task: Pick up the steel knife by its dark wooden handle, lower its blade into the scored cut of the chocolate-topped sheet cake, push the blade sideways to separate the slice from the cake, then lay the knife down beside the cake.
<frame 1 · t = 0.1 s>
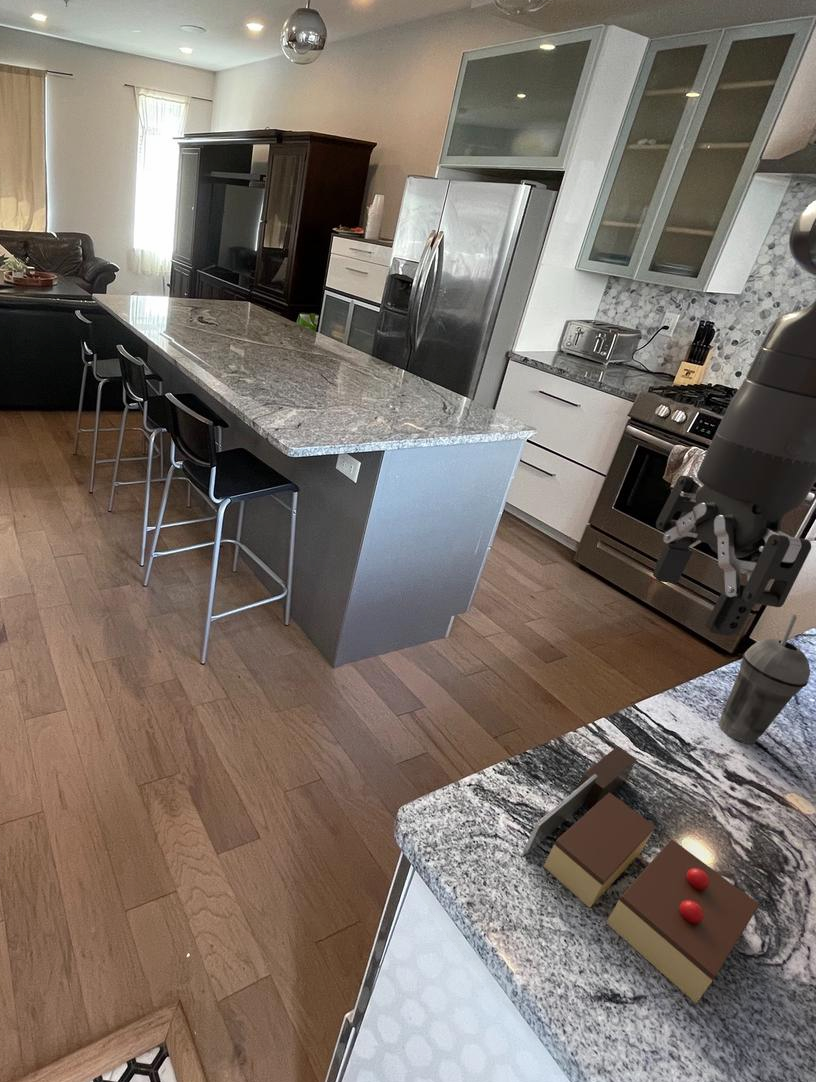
hand: (689, 604, 58), 31 cm above the counter, tool pointing down, fingers open, 8 cm apart
sheet cake: (674, 926, 62), on the counter
beverage cup: (736, 733, 91), on the counter
knife: (600, 787, 77), on the counter
cake slice: (593, 859, 68), on the counter
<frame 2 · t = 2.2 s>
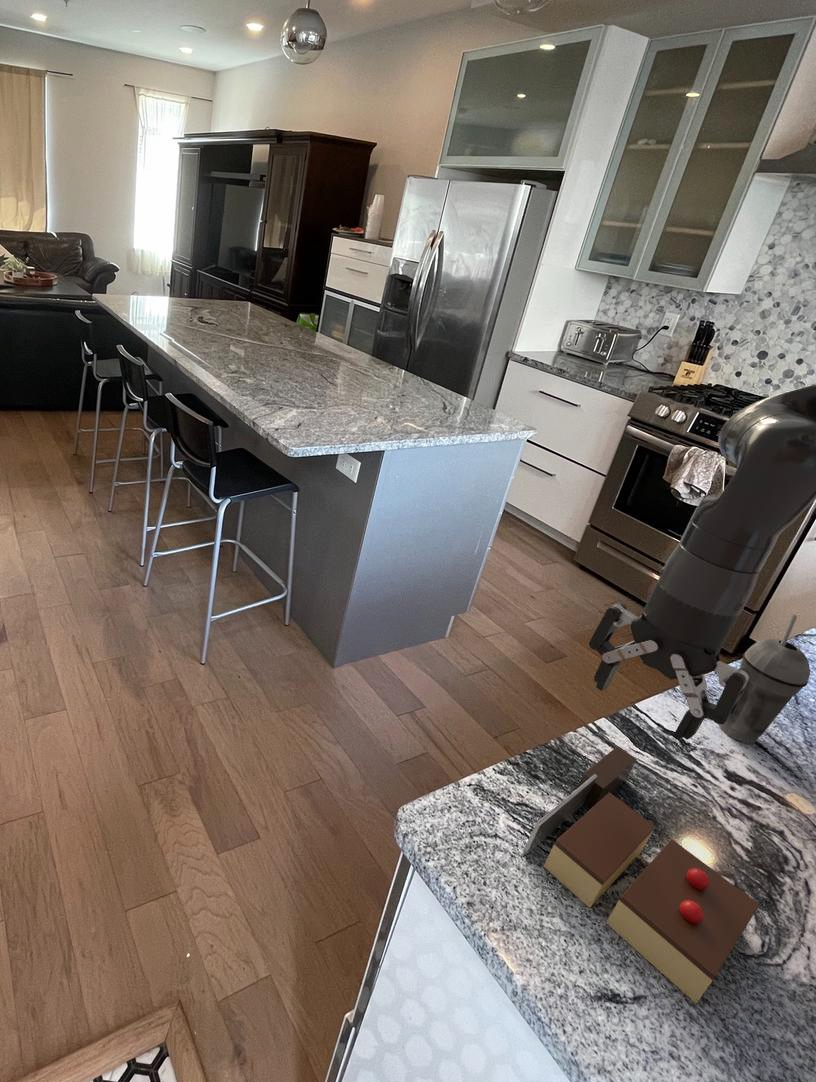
hand: (638, 710, 72), 12 cm above the counter, tool pointing down, fingers open, 8 cm apart
nothing on the counter moved.
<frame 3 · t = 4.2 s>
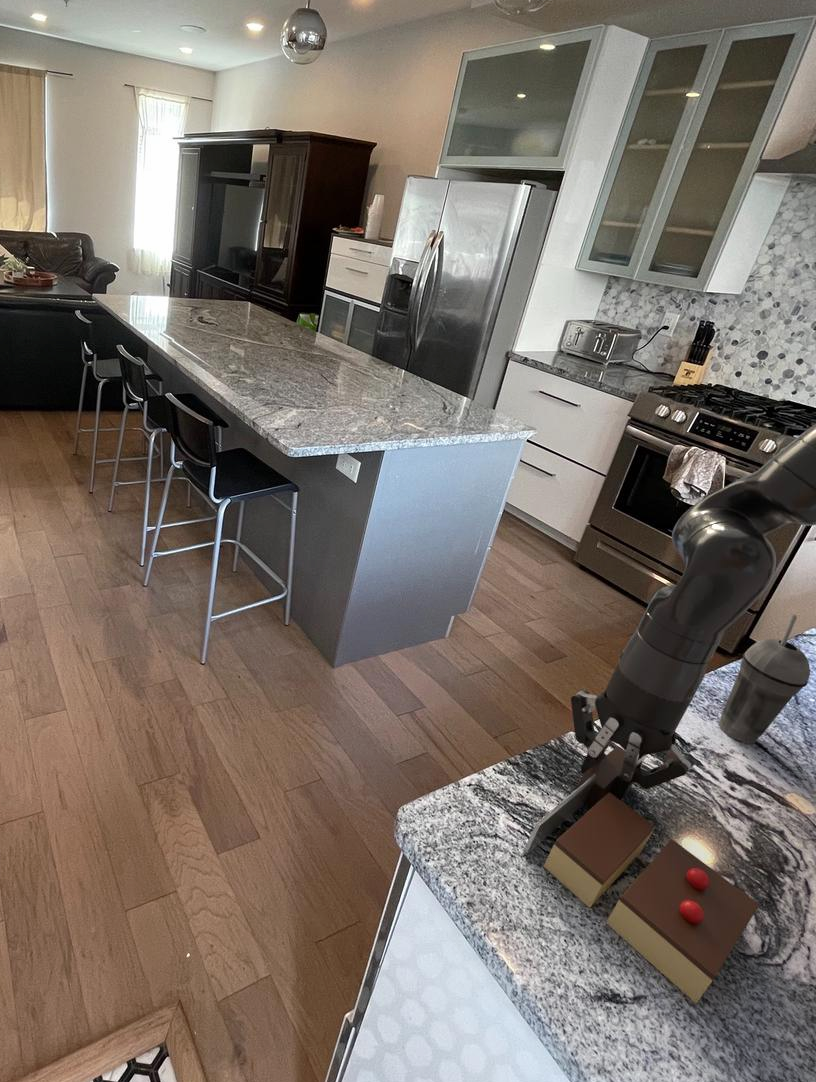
hand: (600, 786, 77), 0 cm above the counter, tool pointing down, fingers closed on knife, 2 cm apart
knife: (600, 787, 77), on the counter, touching gripper
everything else where it was.
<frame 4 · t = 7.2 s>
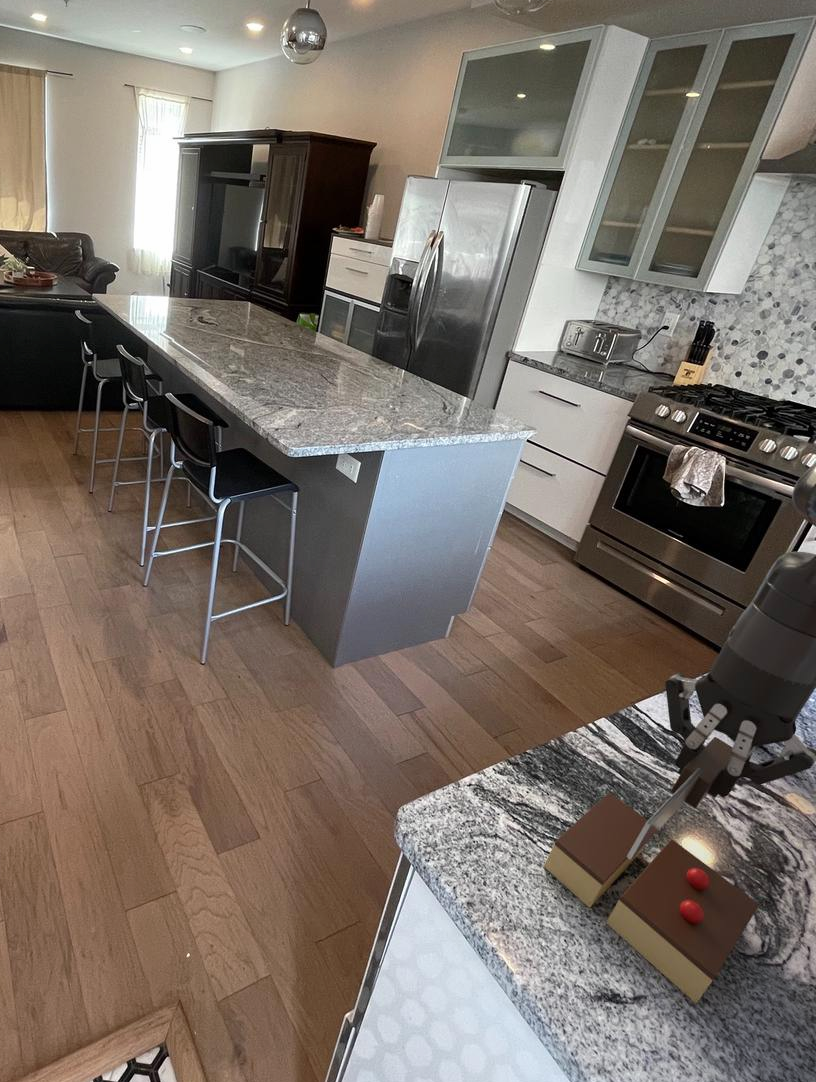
hand: (698, 781, 68), 9 cm above the counter, tool pointing down, fingers closed on knife, 2 cm apart
knife: (698, 782, 68), point 9 cm above the counter, touching gripper
everything else where it was.
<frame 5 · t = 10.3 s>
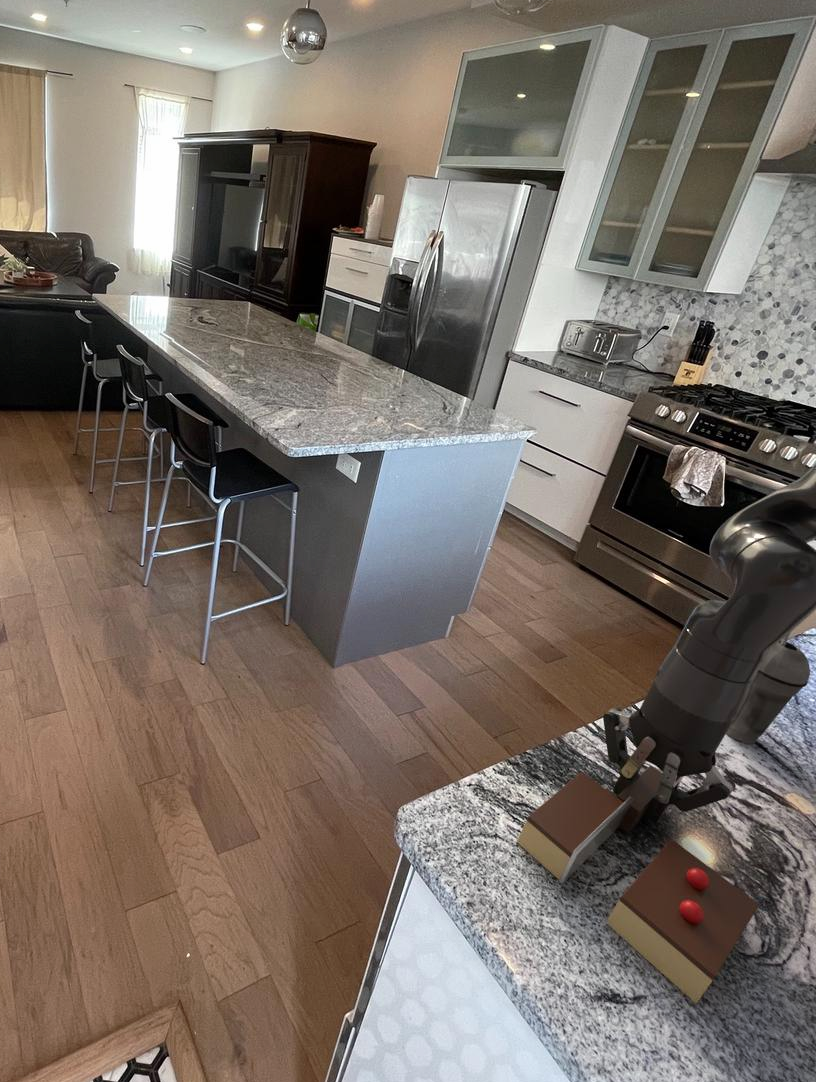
hand: (634, 807, 74), 1 cm above the counter, tool pointing down, fingers closed on knife, 2 cm apart
knife: (633, 808, 74), on the counter, touching cake slice, gripper
cake slice: (565, 835, 70), on the counter, touching knife
everything else where it was.
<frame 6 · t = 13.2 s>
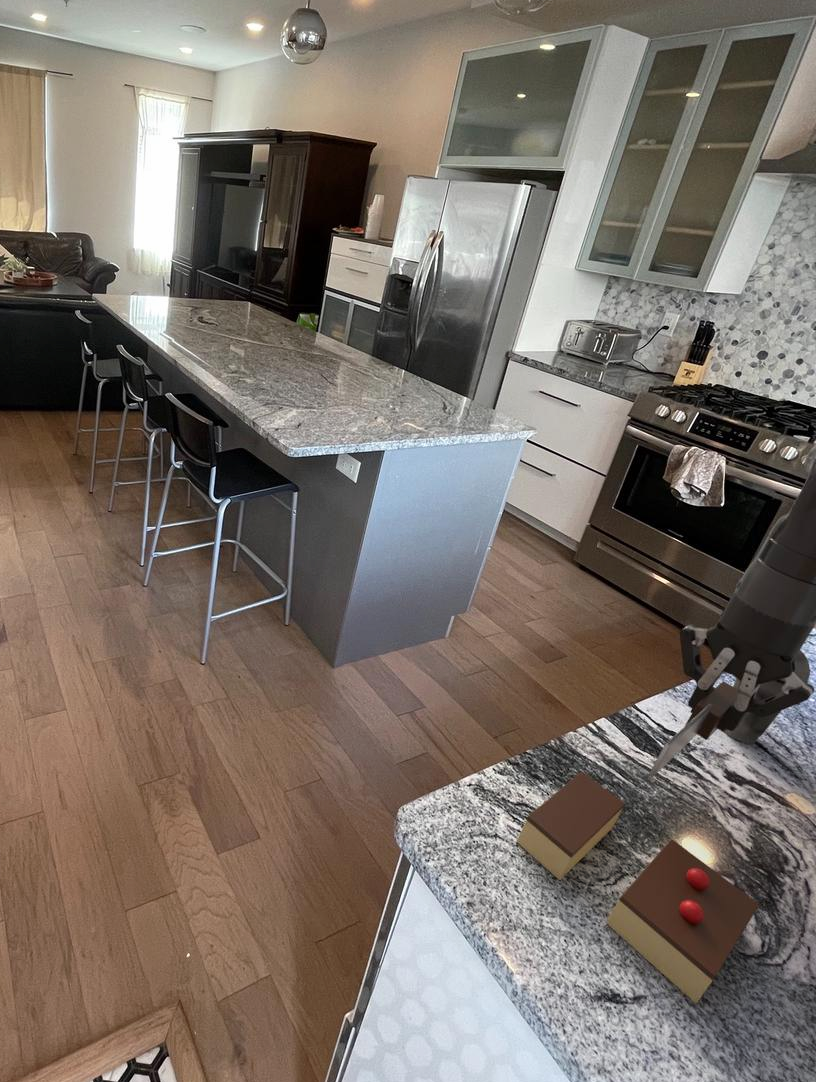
hand: (709, 719, 77), 9 cm above the counter, tool pointing down, fingers closed on knife, 2 cm apart
knife: (708, 720, 77), point 9 cm above the counter, touching gripper
cake slice: (565, 835, 70), on the counter
everything else where it was.
when the fingers open (0 cm above the counter, at t = 15.3 s): knife stays where it is, on the counter.
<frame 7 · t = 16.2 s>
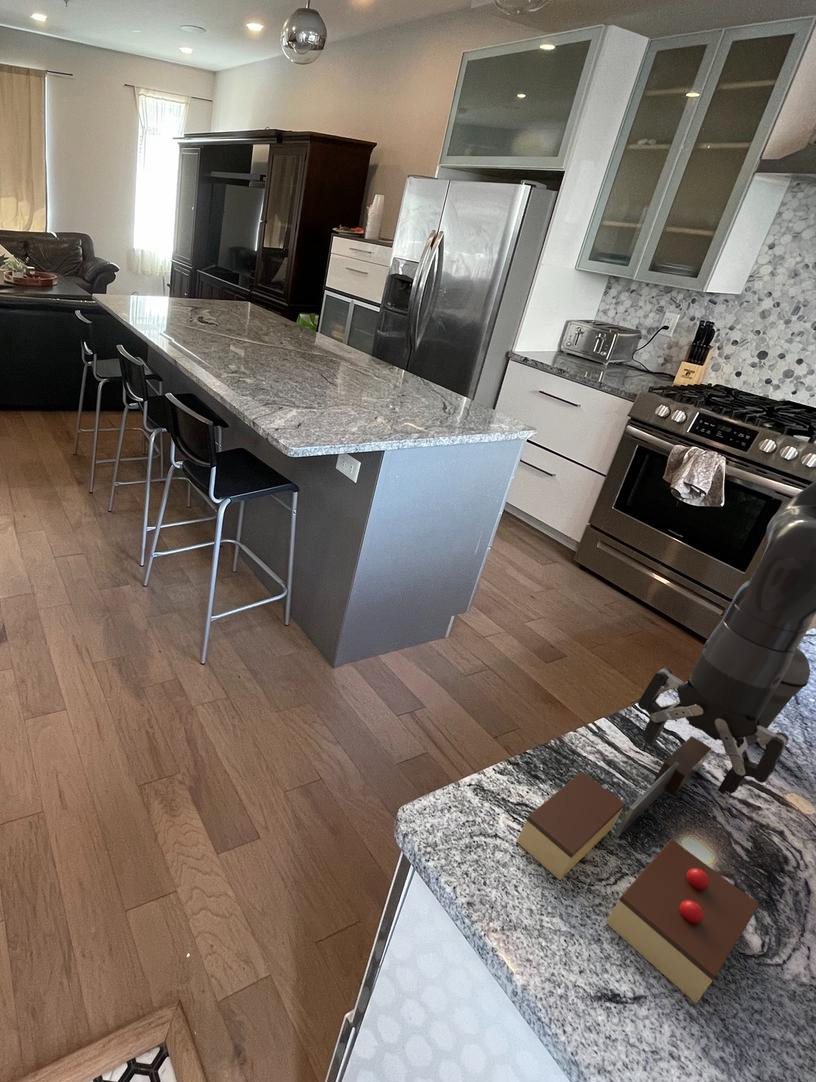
hand: (684, 765, 80), 2 cm above the counter, tool pointing down, fingers open, 8 cm apart
knife: (677, 774, 81), on the counter
everything else where it was.
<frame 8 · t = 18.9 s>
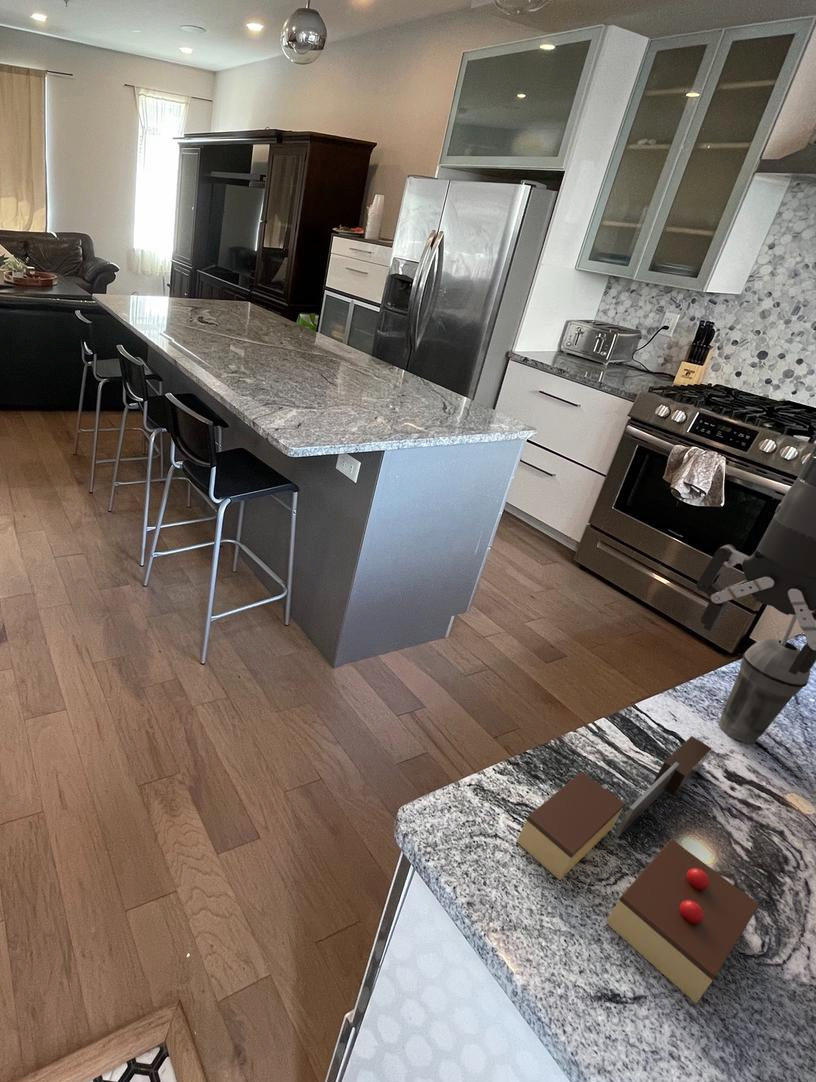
hand: (749, 649, 73), 20 cm above the counter, tool pointing down, fingers open, 8 cm apart
nothing on the counter moved.
at the end: cake slice moved 3.2 cm from its start; cake slice inside the target area (1.6 cm from its centre), on the counter; the gripper is holding nothing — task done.
